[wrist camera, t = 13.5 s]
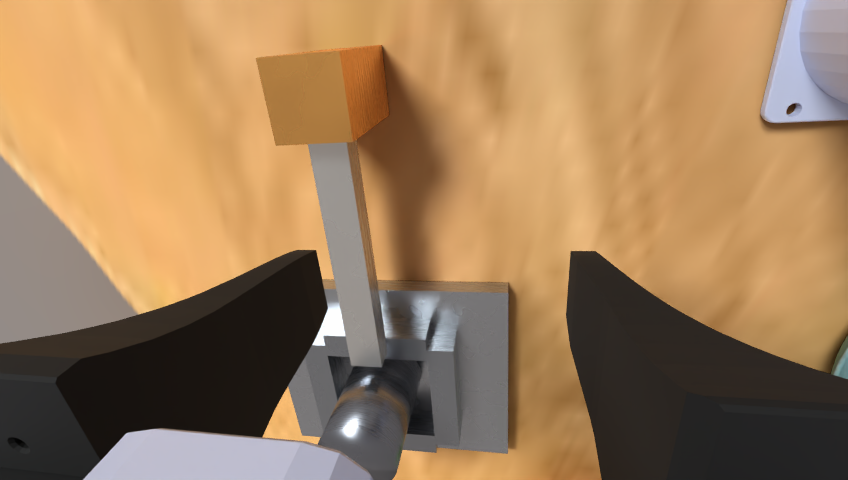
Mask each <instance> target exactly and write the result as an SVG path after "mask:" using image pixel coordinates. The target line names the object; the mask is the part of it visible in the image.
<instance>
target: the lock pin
mask: <svg viewBox="0 0 848 480" xmlns="http://www.w3.org/2000/svg"><path fill="white" fill-rule="evenodd" d="M256 61H257V65H258V70H259V74H260V78H261V83H262V87H263V92H264V96H265V100H266V105H267V109H268V114H269V118H270V122H271V127H272V131H273V135H274V140H275V144H276V146H277V145H299V144H308V147H309V152H310V157H311V162H312V167H313V173H314V178H315V183H316V188H317V193H318V198H319V203H320V208H321V213H322V219H323V224H324V229H325V234H326V239H327V244H328V249H329V254H330V259H331V264H332V270H333V275H334V280H335V285H336V290H337V295H338V300H339V305H340V310H341V316H342V321H343V326H344V331H345V336H346V341H347V346H348V351H349V356H350V361H351V366H366V367H382V366H383V363H384V360H385V357H386V355H387V352H388V350H387V343H386V337H385V330H384V323H383V316H382V309H381V303H380V296H379V289H378V282H377V275H376V269H375V262H374V255H373V248H372V241H371V235H370V228H369V221H368V214H367V207H366V201H365V194H364V187H363V180H362V173H361V167H360V160H359V153H358V146H357V139H358V138H359V137H361V136H362V135H363V134H365V133H366V132H367V131H369V130H370V129H371V128H373V127H374V126H375V125H377V124H378V123H379V122H381V121H382V120H383V119H385V118H386V117H387V116H389V106H388V97H387V88H386V79H385V70H384V61H383V53H382V45H377V46H365V47H354V48H342V49H331V50H319V51H310V52H302V53H293V54H285V55H277V56H268V57H260V58H256Z"/></svg>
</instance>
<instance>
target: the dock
mask: <svg viewBox="0 0 848 480" xmlns="http://www.w3.org/2000/svg"><path fill="white" fill-rule="evenodd" d="M322 281H323V286H324V291H325V296H326V300H327V305H328V310H327V313H326V315H325V318H324V321H323V323H322V326H321V328H320V331H319V333H318V335H317V337H316V339H315V341H314V343H313V344H312V346H311V348H310V350H309V351H308V353H307V355H306V357H305V358H304V360H303V362H302V363H301V365H300V367H299V368H298V370H297V372H296V373H295V375H294V377H293V378H292V380H291V382H290V383H289V385H288V387H289V390H290V394H291V397H292V401H293V404H294V408H295V412H296V415H297V419H298V422H299V426H300V429H301V433H302V435H304V436H315V437H321V436H322V434H323V432H324V430H325V427H326V425H327V423H328V421H329V419H330V417H331V414H332V412H333V410H334V408H335V406H336V404H337V401H338V399H339V397H340V395H341V393H342V390H343V388H344V386H345V384H346V382H347V380H348V377H349V375H350V373H351V371H352V369H353V367H354V366H351V361H350V356H349V351H348V346H347V341H346V336H345V331H344V326H343V321H342V316H341V310H340V305H339V300H338V295H337V290H336V285H335V280H322ZM377 282H378V289H379V296H380V303H381V309H382V316H383V323H384V330H385V337H386V343H387V350H388V352H387V355H386V357H385V359H397V360H416V361H417V363H418V365H419V367H420V370H421V380H420V384H419V388H418V391H417V395H416V399H415V403H414V407H413V411H412V415H411V419H410V422H409V426H408V430H407V434H406V438H405V442H404V446H403V449H402V450H412V451H423V452H434V453H436V452H437V447H439V448H450V449H461V450H472V451H484V452H495V453H506V454H508V283H492V282H434V281H377Z"/></svg>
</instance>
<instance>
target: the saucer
mask: <svg viewBox="0 0 848 480" xmlns="http://www.w3.org/2000/svg"><path fill="white" fill-rule="evenodd" d="M831 374H832V375H835V376H839V377H842V378H845V379H848V336H847V337H846V339H845V341H844V342H843V344H842V346H841V348H840V350H839V352H838V354H837V356H836V359H835V362H834V365H833V368H832V371H831Z"/></svg>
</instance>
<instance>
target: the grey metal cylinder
mask: <svg viewBox="0 0 848 480" xmlns="http://www.w3.org/2000/svg"><path fill="white" fill-rule="evenodd" d="M420 380H421V370H420V367H419V365H418V363H417V361H416V360H397V359H385V360H384V363H383V366H382V367H366V366H354V367H353V369H352V371H351V373H350V375H349V377H348V380H347V382H346V384H345V386H344V388H343V390H342V393H341V395H340V397H339V399H338V401H337V404H336V406H335V408H334V410H333V412H332V414H331V417H330V419H329V421H328V423H327V425H326V427H325V430H324V432H323V434H322V436H321V438H320V440H319V443H318V445H320V446H324V447H328V448H331V449H335V450H338V451H341V452H342V453H343V454H345V455H346V456H348V457H349V458H351V459H352V460H353V461H355V462H356V463H358V464H359V465H360V466H362V467H363V468H365V469H366V470H367V471H368V472H369V473H370V475H371V476H372V478H373V480H392V479H393V478H394V477H395V475H396V473H397V469H398V465H399V461H400V457H401V453H402V449H403V446H404V442H405V438H406V434H407V430H408V426H409V422H410V419H411V415H412V411H413V407H414V403H415V399H416V395H417V391H418V388H419V384H420Z"/></svg>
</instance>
